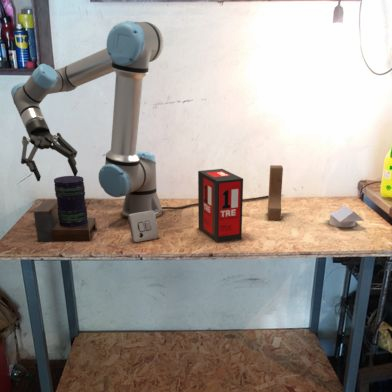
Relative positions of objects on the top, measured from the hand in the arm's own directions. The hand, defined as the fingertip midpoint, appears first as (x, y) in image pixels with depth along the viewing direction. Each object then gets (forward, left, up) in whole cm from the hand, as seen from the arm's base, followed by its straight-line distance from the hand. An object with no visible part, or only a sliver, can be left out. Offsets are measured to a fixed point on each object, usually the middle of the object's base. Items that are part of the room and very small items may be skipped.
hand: (57, 176), depth 198 cm
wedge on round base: (-101, +1, -18) cm, 102 cm away
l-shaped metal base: (-3, +10, -18) cm, 20 cm away
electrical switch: (-30, +15, -18) cm, 38 cm away
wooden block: (-77, -10, -18) cm, 80 cm away
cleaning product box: (-56, +10, -18) cm, 60 cm away
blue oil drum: (-6, +9, -14) cm, 18 cm away
